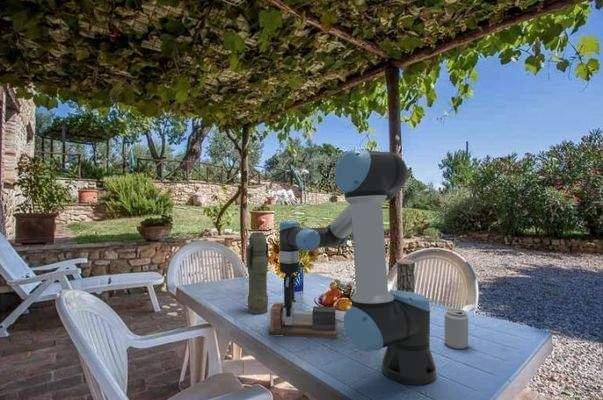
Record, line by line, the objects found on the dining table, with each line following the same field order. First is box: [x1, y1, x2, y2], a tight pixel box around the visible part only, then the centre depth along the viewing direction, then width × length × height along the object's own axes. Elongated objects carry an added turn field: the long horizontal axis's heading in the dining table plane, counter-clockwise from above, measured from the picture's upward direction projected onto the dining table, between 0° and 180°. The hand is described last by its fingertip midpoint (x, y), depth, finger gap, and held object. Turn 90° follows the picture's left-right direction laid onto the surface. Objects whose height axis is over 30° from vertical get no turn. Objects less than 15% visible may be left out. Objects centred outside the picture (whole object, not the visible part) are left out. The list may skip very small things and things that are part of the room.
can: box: [444, 308, 469, 350], centre depth 121 cm, size 8×8×12 cm
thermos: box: [245, 232, 270, 316], centre depth 156 cm, size 9×12×35 cm
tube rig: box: [268, 301, 338, 339], centre depth 134 cm, size 12×25×9 cm, turn 84°
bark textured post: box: [396, 258, 416, 293], centre depth 143 cm, size 7×7×25 cm
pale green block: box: [281, 299, 313, 323], centre depth 135 cm, size 4×16×8 cm, turn 84°
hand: (289, 321), depth 135 cm, fingers closed on pale green block, 4 cm apart
